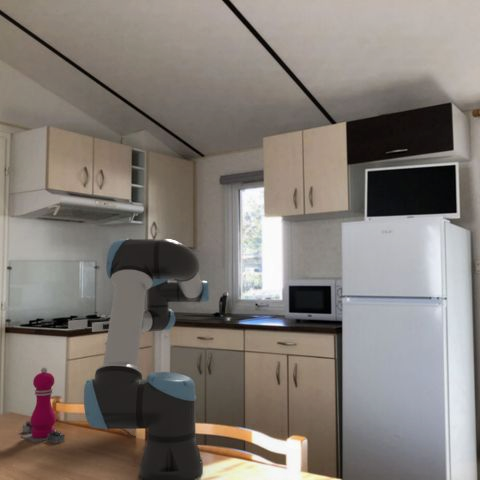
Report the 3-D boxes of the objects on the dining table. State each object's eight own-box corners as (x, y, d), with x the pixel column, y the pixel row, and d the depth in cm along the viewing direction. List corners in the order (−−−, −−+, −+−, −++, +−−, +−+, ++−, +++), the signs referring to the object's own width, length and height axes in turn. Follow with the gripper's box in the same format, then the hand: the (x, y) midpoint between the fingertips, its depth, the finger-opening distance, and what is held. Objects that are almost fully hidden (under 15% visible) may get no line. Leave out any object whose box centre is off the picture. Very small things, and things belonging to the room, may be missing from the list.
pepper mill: (30, 433, 168) (32, 366, 169) (56, 431, 170) (56, 365, 171) (29, 439, 161) (30, 370, 162) (55, 437, 163) (56, 368, 164)
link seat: (64, 436, 165) (64, 434, 165) (36, 442, 159) (36, 441, 159) (49, 430, 171) (49, 429, 172) (21, 436, 165) (21, 435, 165)
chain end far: (38, 432, 170) (38, 422, 170) (29, 434, 168) (29, 424, 168) (32, 429, 173) (32, 420, 173) (22, 431, 170) (22, 422, 171)
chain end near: (64, 441, 160) (64, 431, 160) (54, 443, 158) (54, 433, 158) (57, 438, 163) (57, 429, 163) (47, 441, 160) (47, 431, 161)
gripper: (158, 335, 181) (103, 341, 165) (113, 330, 197) (59, 335, 182) (159, 312, 181) (103, 315, 165) (114, 309, 198) (59, 312, 182)
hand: (80, 326), depth 174 cm, fingers open, 13 cm apart
